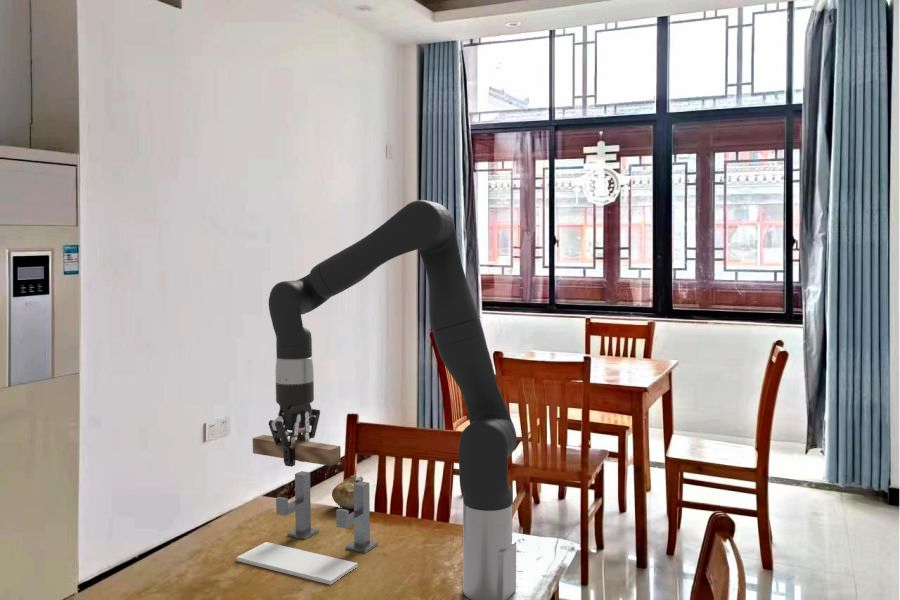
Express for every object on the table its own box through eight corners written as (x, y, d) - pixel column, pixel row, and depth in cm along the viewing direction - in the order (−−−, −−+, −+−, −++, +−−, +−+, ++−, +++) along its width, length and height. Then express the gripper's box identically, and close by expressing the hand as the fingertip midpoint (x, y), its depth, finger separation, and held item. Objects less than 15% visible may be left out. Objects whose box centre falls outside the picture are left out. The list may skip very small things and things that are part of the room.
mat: (357, 567, 151) (357, 563, 151) (331, 584, 143) (331, 580, 143) (266, 545, 162) (266, 541, 162) (236, 560, 154) (236, 557, 154)
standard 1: (319, 532, 169) (318, 471, 168) (290, 547, 160) (289, 484, 160) (301, 528, 172) (300, 468, 171) (272, 543, 163) (271, 480, 162)
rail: (340, 461, 148) (340, 446, 148) (330, 466, 145) (330, 449, 145) (263, 449, 157) (263, 434, 157) (252, 453, 154) (252, 438, 154)
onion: (333, 502, 189) (333, 471, 189) (365, 502, 190) (365, 471, 189) (330, 513, 182) (330, 481, 181) (363, 512, 182) (363, 480, 182)
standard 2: (378, 544, 162) (377, 481, 161) (351, 562, 153) (350, 495, 152) (359, 540, 164) (358, 478, 163) (331, 557, 155) (331, 491, 154)
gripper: (286, 386, 142) (287, 475, 143) (330, 375, 154) (332, 457, 156) (256, 383, 145) (257, 470, 147) (302, 372, 158) (303, 452, 159)
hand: (296, 462), depth 151 cm, fingers closed on rail, 3 cm apart
